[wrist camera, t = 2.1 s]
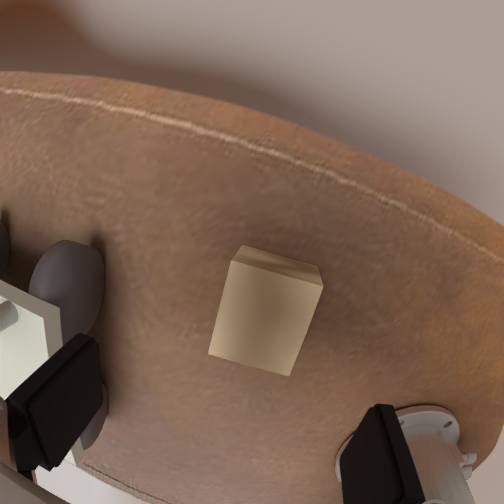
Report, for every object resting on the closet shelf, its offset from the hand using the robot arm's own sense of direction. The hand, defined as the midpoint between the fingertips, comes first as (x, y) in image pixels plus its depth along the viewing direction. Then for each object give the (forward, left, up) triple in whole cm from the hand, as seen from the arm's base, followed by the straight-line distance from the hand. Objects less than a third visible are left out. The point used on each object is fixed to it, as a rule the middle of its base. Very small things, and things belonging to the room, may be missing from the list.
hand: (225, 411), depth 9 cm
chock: (-1, 0, -12) cm, 12 cm away
